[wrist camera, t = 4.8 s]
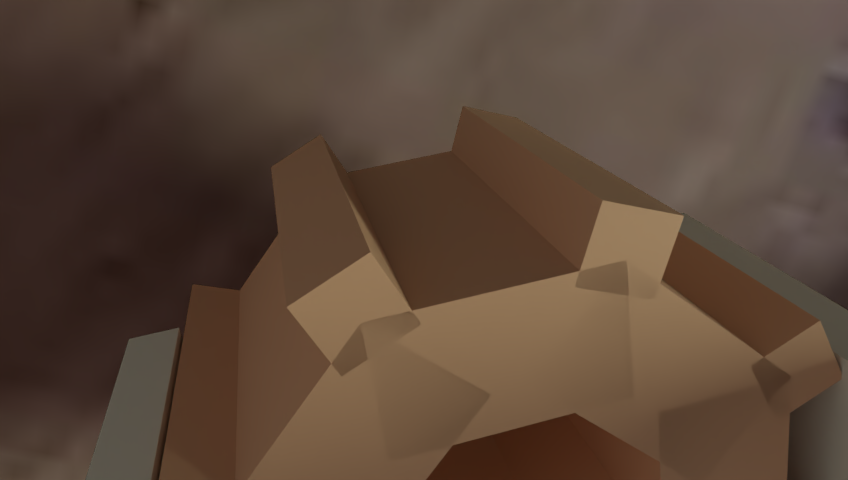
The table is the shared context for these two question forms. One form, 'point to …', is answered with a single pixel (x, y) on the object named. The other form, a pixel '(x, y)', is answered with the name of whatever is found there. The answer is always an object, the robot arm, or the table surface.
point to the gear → (487, 331)
